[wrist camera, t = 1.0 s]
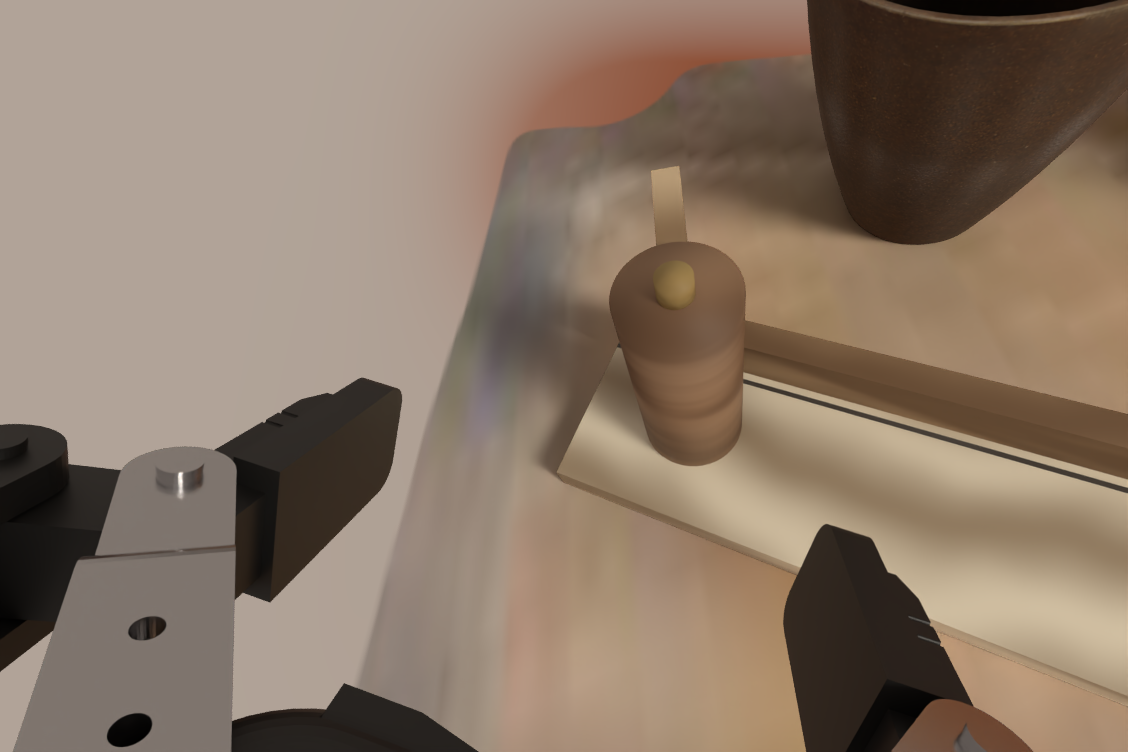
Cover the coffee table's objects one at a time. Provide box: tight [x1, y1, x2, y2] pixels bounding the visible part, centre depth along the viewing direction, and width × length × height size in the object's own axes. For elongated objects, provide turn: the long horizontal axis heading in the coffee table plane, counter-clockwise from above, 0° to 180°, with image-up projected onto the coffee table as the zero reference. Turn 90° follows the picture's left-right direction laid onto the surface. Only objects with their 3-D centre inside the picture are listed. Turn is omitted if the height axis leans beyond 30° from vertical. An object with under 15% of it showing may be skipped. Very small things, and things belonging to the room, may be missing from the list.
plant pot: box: [807, 0, 1128, 245], centre depth 30 cm, size 15×15×16 cm
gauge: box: [609, 166, 746, 466], centre depth 27 cm, size 10×5×12 cm, turn 179°
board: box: [557, 321, 1128, 707], centre depth 28 cm, size 10×25×4 cm, turn 64°
